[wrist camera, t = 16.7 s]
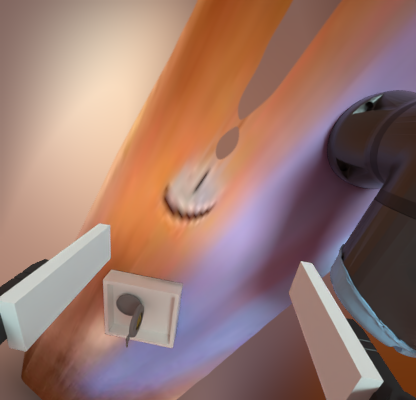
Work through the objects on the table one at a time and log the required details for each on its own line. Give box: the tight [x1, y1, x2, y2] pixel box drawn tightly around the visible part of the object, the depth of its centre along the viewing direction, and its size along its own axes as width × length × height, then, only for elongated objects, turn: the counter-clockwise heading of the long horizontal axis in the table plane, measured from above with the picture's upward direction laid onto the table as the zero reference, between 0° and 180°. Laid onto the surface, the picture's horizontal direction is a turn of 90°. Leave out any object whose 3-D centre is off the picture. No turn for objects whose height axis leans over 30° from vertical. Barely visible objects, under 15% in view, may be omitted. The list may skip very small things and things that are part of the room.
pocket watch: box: [116, 294, 144, 347], centre depth 47 cm, size 8×8×10 cm
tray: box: [103, 270, 183, 348], centre depth 51 cm, size 18×18×4 cm
